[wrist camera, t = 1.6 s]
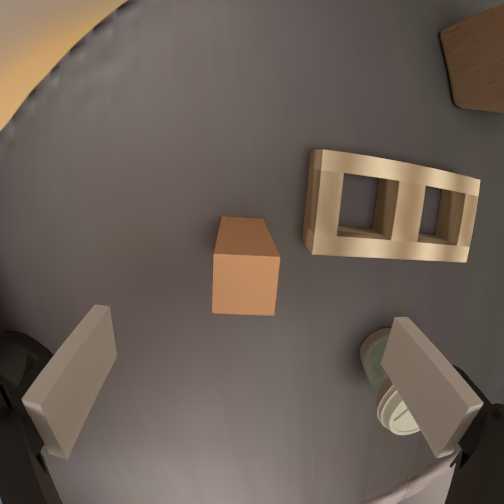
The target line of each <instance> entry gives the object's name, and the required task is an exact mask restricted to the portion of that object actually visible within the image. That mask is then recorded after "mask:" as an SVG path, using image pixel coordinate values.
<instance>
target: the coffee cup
mask: <svg viewBox="0 0 504 504" xmlns="http://www.w3.org/2000/svg"><path fill="white" fill-rule="evenodd" d="M390 332H391V328H382V329H379V330H377V331H375V332H373V333H371V334H370V335H369V336H368V337H367V338H366V339H365V340H364V342H363V343H362V345H361V348H360V359H361V362H362V364H363V367H364V370H365V373H366V376H367V379H368V381H369V384H370V387H371V390H372V393H373V396H374V399H375V401H376V404H377V407H378V411H377V416H378V419H379V421H380V422H381V423H382V424H383V426H384V427H386V428H388V429H389V430H391V431H392V432H393V433H395V434H398V435H407V434H412V433H415V432H417V431H420V428H419V427H418V425H417V423H416V422H415V420H414V418H413V416H412V415H411V413H410V411H409V410H408V408H407V406H406V405H405V403H404V401H403V400H402V398H401V396H400V395H399V393H398V391H397V390H396V388H395V386H394V385H393V383H392V382H391V380H390V378H389V377H388V375H387V373H386V372H385V370H384V369H383V367H382V365H381V361H382V358H383V355H384V351H385V348H386V345H387V342H388V338H389V335H390Z"/></svg>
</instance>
